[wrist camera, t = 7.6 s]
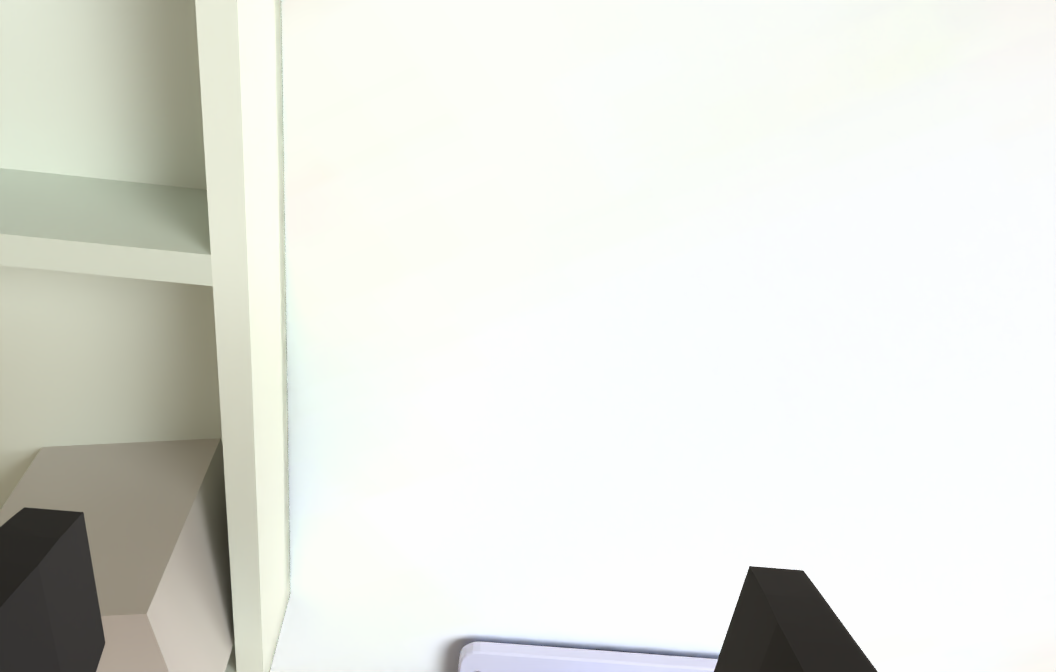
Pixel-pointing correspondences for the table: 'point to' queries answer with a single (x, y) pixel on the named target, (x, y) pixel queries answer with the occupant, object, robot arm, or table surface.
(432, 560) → the table surface
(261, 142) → the tray
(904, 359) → the table surface
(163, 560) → the white small block
